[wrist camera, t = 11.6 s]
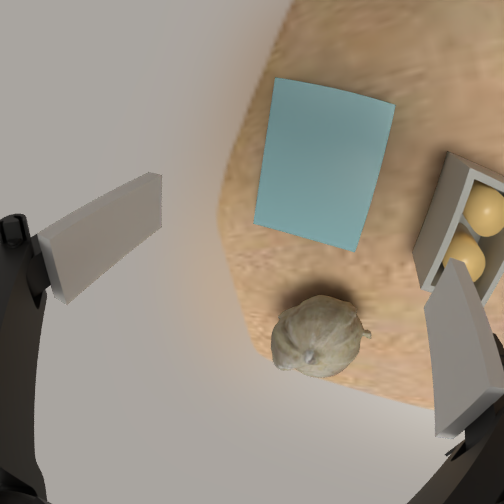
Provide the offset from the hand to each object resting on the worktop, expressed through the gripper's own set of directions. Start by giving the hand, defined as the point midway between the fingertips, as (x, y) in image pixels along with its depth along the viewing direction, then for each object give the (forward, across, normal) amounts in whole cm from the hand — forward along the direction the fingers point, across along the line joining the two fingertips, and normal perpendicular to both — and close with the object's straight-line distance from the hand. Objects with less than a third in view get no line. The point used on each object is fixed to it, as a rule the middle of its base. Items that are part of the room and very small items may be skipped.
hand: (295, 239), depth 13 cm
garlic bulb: (+15, +4, -15) cm, 22 cm away
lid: (+15, -1, 0) cm, 15 cm away
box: (+15, +13, -1) cm, 20 cm away
